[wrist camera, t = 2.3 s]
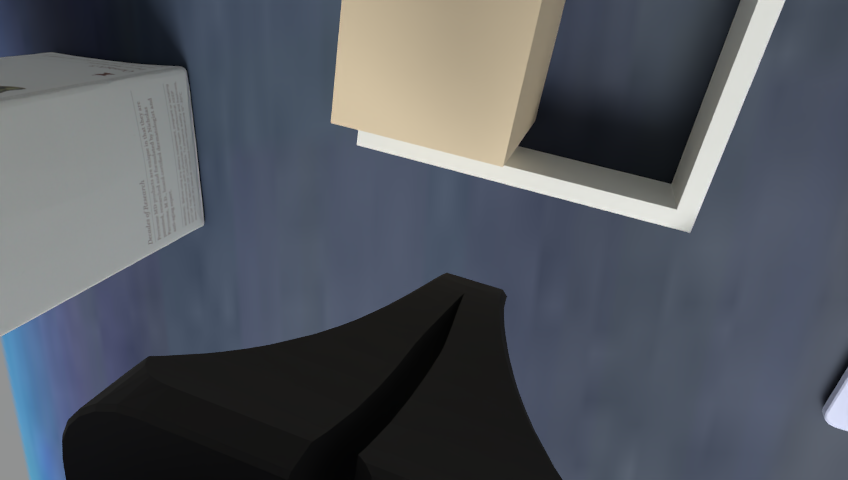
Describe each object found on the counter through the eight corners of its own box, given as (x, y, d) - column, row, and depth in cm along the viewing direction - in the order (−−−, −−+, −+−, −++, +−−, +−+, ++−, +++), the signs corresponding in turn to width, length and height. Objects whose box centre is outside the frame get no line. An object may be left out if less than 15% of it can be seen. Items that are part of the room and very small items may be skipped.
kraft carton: (574, -35, 18) (551, -42, 13) (535, 120, 20) (502, 167, 15) (425, -61, 19) (348, -78, 14) (403, 89, 21) (330, 122, 16)
